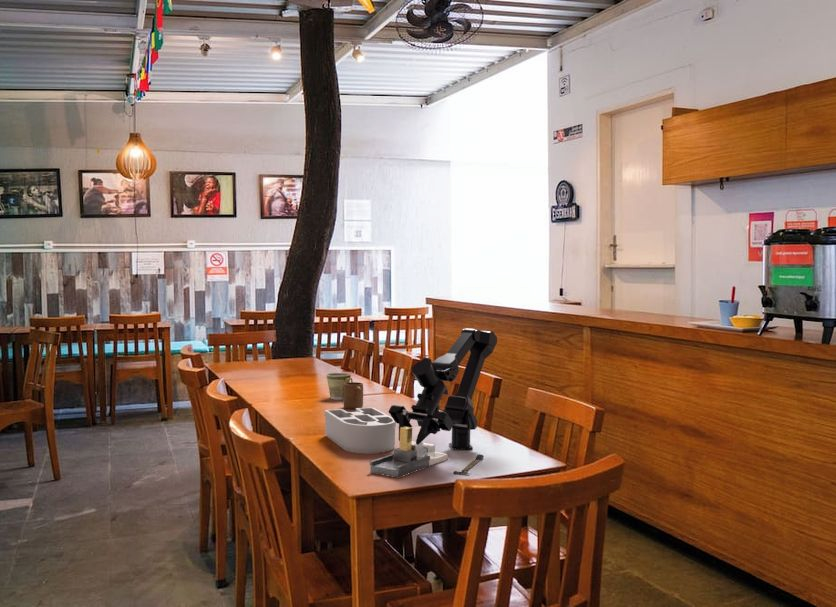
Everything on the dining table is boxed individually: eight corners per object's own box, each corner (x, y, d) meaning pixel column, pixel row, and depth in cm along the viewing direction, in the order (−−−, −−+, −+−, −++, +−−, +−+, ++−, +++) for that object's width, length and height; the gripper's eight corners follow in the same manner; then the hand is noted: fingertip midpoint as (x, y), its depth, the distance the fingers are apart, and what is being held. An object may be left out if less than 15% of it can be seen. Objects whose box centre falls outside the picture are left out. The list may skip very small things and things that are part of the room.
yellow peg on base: (399, 458, 219) (400, 425, 219) (416, 461, 216) (417, 428, 216) (393, 459, 217) (394, 427, 217) (410, 462, 214) (411, 429, 214)
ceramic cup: (321, 398, 326) (321, 374, 325) (338, 395, 333) (339, 372, 333) (343, 402, 317) (343, 377, 317) (360, 399, 325) (360, 375, 324)
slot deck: (401, 461, 224) (401, 450, 223) (429, 466, 218) (430, 455, 218) (369, 472, 211) (369, 461, 211) (399, 478, 206) (399, 467, 206)
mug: (369, 410, 300) (369, 386, 299) (350, 411, 297) (350, 387, 296) (359, 405, 311) (359, 381, 310) (340, 406, 308) (341, 382, 308)
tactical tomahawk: (476, 480, 209) (476, 476, 209) (452, 475, 211) (452, 471, 211) (498, 461, 228) (498, 457, 228) (476, 457, 231) (477, 453, 231)
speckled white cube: (415, 459, 225) (423, 456, 228) (427, 461, 222) (434, 458, 226) (415, 445, 224) (423, 442, 228) (427, 447, 222) (435, 444, 226)
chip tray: (421, 454, 232) (421, 449, 232) (447, 459, 227) (447, 454, 227) (402, 461, 224) (402, 456, 223) (429, 466, 219) (429, 461, 219)
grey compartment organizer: (372, 433, 262) (373, 407, 261) (403, 452, 236) (403, 423, 235) (324, 436, 255) (324, 410, 255) (350, 456, 229) (350, 427, 229)
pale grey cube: (411, 455, 223) (411, 441, 223) (423, 457, 221) (423, 443, 220) (403, 458, 219) (403, 443, 219) (415, 460, 217) (415, 445, 217)
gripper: (468, 418, 226) (447, 463, 217) (414, 410, 236) (392, 454, 228) (454, 394, 219) (432, 440, 210) (399, 387, 229) (376, 431, 221)
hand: (408, 442), depth 217 cm, fingers open, 5 cm apart
